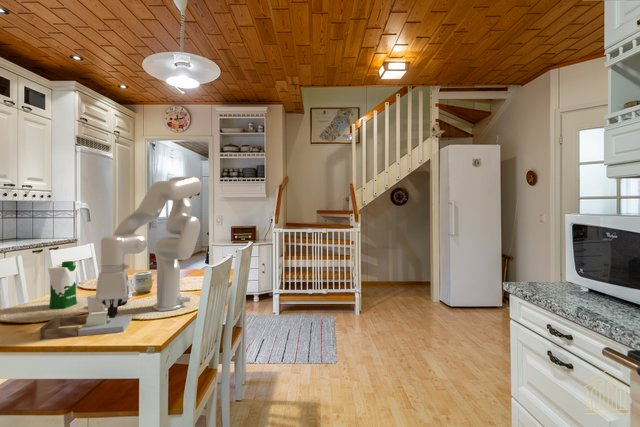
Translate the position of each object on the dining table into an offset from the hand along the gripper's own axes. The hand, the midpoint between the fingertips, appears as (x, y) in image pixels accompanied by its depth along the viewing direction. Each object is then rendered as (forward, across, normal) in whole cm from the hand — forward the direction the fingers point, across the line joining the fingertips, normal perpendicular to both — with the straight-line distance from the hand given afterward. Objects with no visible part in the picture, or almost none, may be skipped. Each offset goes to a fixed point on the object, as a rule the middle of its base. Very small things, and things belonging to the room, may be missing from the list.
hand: (112, 316), depth 125 cm
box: (+4, +14, 0) cm, 15 cm away
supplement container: (+4, +4, -30) cm, 31 cm away
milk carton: (+4, +27, -35) cm, 44 cm away
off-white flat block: (+2, +5, 0) cm, 5 cm away
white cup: (+4, +11, -20) cm, 23 cm away
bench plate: (+4, +2, 0) cm, 4 cm away
